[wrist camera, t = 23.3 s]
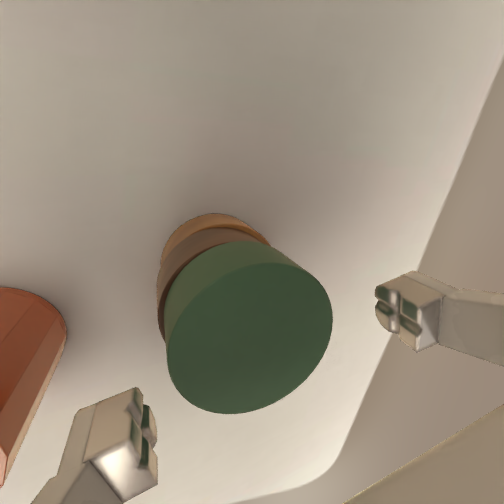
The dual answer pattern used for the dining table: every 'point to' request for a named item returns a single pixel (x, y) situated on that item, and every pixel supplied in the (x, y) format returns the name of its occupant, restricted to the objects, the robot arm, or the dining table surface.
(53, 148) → the dining table surface
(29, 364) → the cup
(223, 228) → the walnut chip
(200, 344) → the green chip
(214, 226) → the oak chip
